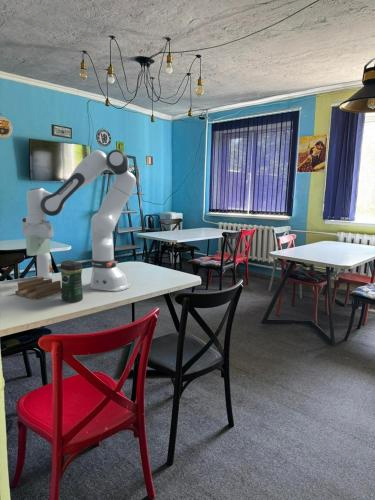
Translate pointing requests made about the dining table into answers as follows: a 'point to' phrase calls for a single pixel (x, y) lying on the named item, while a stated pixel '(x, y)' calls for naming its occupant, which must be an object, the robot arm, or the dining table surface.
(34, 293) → the rack
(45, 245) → the tall mint green block
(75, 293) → the coffee jar
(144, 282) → the dining table surface
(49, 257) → the milk bottle
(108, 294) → the dining table surface
